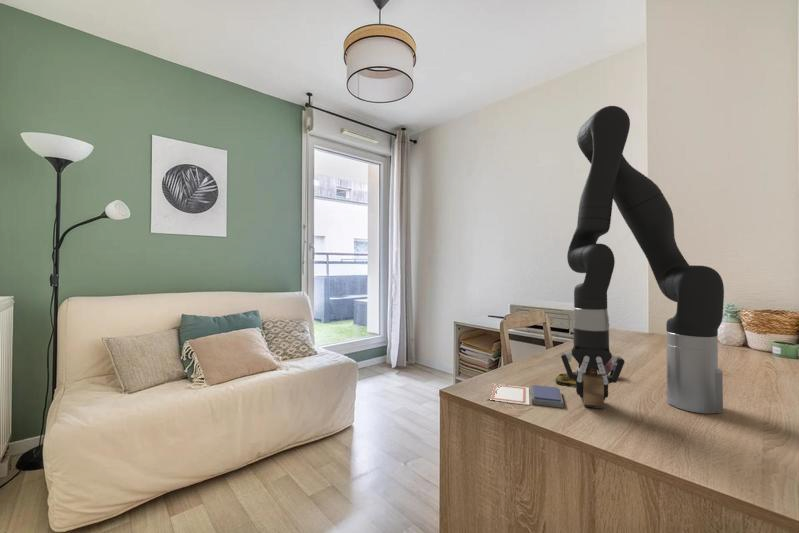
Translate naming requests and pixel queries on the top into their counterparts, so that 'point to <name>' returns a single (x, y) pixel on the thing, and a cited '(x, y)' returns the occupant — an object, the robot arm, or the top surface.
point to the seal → (565, 380)
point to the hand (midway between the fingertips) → (591, 397)
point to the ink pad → (546, 396)
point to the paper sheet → (511, 394)
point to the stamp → (593, 389)
